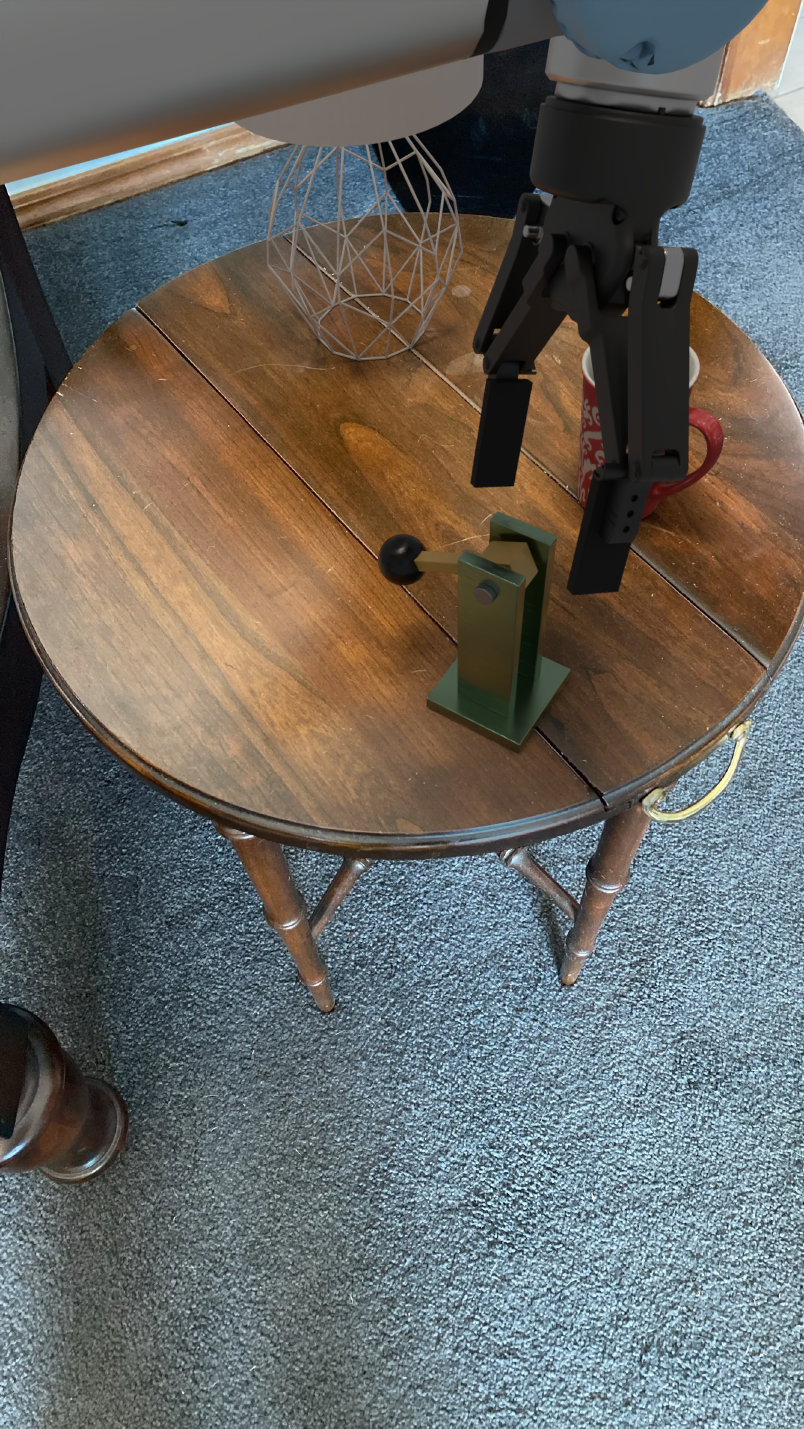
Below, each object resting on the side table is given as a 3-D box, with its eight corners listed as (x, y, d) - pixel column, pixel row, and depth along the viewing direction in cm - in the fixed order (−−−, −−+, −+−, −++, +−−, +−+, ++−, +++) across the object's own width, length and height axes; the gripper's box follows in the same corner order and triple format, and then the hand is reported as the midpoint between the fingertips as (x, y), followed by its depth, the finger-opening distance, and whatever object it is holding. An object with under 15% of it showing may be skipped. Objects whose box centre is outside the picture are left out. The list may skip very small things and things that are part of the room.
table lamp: (226, 312, 103) (117, -187, 70) (403, 242, 109) (379, -248, 76) (331, 425, 92) (261, -104, 59) (521, 340, 98) (554, -184, 65)
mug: (543, 494, 86) (556, 363, 75) (611, 445, 89) (634, 312, 78) (655, 570, 80) (688, 441, 69) (724, 515, 83) (765, 383, 72)
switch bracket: (426, 706, 74) (419, 563, 61) (479, 636, 77) (485, 486, 64) (518, 753, 71) (532, 614, 58) (570, 678, 74) (594, 530, 61)
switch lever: (380, 594, 70) (359, 554, 68) (408, 562, 71) (388, 522, 69) (519, 608, 62) (500, 563, 60) (546, 571, 63) (529, 527, 61)
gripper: (883, 146, 35) (712, 641, 48) (575, 81, 54) (510, 449, 66) (709, 128, 33) (577, 654, 45) (450, 67, 52) (406, 451, 64)
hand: (537, 533), depth 56 cm, fingers open, 13 cm apart
